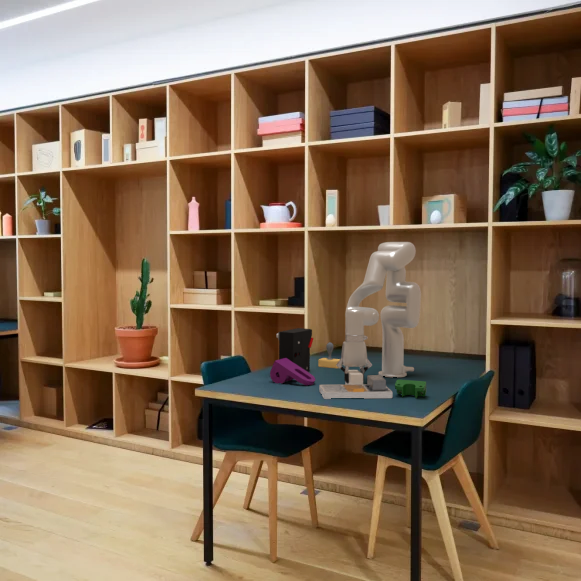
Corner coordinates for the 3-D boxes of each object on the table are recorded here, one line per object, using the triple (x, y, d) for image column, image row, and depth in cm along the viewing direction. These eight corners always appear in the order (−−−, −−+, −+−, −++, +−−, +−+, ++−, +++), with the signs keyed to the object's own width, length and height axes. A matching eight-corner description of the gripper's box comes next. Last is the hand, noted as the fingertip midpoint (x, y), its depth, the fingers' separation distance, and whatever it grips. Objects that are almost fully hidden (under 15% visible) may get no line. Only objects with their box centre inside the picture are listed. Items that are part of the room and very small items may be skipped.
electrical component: (294, 370, 292) (294, 327, 291) (313, 372, 287) (313, 329, 286) (274, 376, 277) (274, 331, 276) (294, 378, 272) (294, 333, 271)
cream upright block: (345, 384, 260) (345, 370, 260) (356, 383, 261) (357, 369, 260) (350, 389, 250) (351, 374, 250) (362, 388, 251) (363, 374, 250)
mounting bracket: (311, 396, 264) (278, 374, 272) (319, 379, 262) (286, 357, 269) (300, 400, 256) (267, 377, 263) (308, 383, 254) (274, 360, 261)
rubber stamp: (318, 366, 302) (318, 342, 301) (323, 365, 307) (323, 341, 306) (336, 368, 297) (337, 343, 296) (341, 366, 302) (341, 342, 302)
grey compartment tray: (383, 390, 248) (383, 374, 248) (392, 398, 234) (392, 381, 234) (319, 391, 246) (319, 374, 246) (324, 399, 232) (324, 381, 232)
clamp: (400, 407, 238) (390, 387, 236) (402, 400, 243) (393, 380, 242) (429, 399, 232) (419, 378, 231) (431, 392, 238) (421, 371, 237)
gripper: (373, 337, 259) (372, 380, 260) (332, 337, 257) (332, 381, 258) (377, 340, 251) (376, 384, 252) (335, 340, 250) (334, 384, 251)
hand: (354, 382), depth 255 cm, fingers closed on cream upright block, 5 cm apart
